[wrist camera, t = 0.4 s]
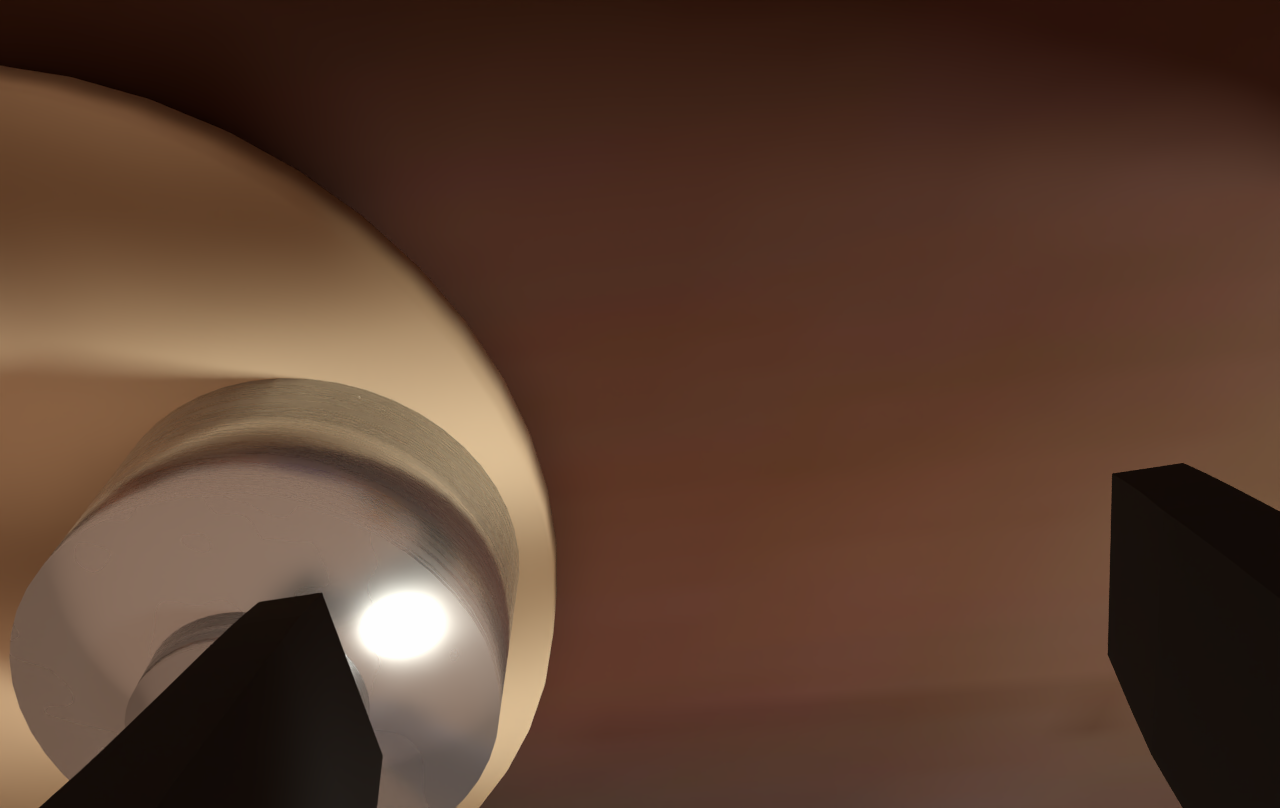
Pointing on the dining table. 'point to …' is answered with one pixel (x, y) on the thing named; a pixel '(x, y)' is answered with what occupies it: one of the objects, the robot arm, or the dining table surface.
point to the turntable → (210, 342)
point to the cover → (284, 575)
